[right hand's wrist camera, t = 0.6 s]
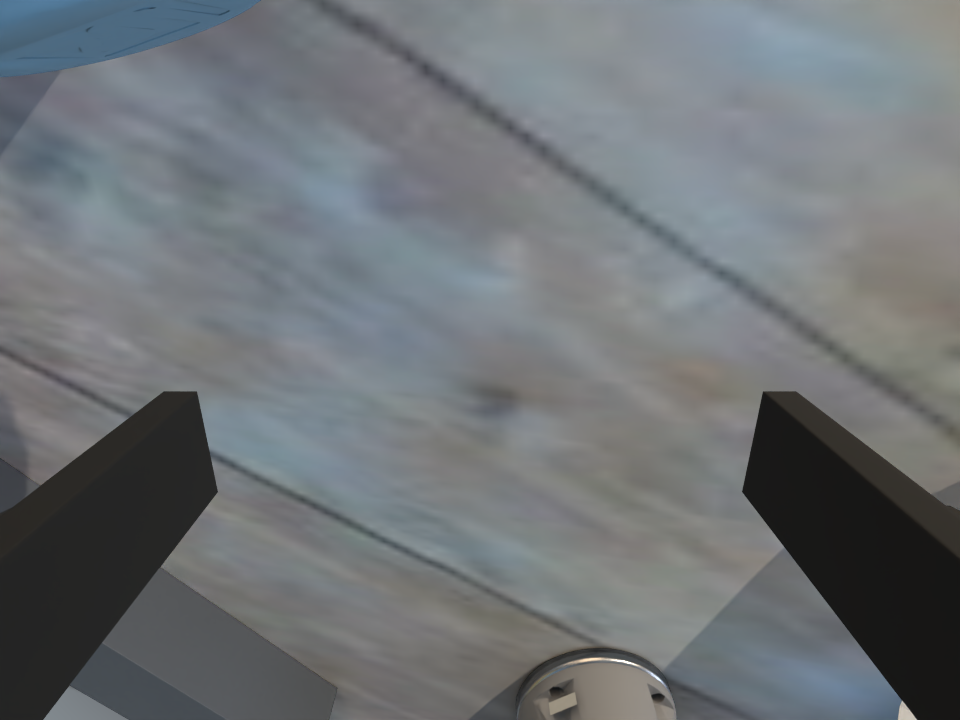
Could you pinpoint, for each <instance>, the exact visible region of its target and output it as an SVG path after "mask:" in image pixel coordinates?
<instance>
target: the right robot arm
mask: <svg viewBox="0 0 960 720" xmlns="http://www.w3.org/2000/svg"><path fill="white" fill-rule="evenodd" d="M217 492H218V491H217V486H216V481H215V476H214V471H213V467H212V462H211V457H210V452H209V447H208V443H207V438H206V433H205V428H204V423H203V419H202V414H201V409H200V404H199V399H198V395H197V392H163V393H161V394H160V395H159V396H157V397H156V398H155V399H153V400H152V401H151V402H150V403H148V404H147V405H146V406H144V407H143V408H142V409H140V410H139V411H138V412H136V413H135V414H134V415H133V416H131V417H130V418H129V419H127V420H126V421H125V422H123V423H122V424H121V425H119V426H118V427H117V428H115V429H114V430H113V431H112V432H110V433H109V434H108V435H106V436H105V437H104V438H102V439H101V440H100V441H98V442H97V443H96V444H95V445H93V446H92V447H91V448H89V449H88V450H87V451H85V452H84V453H83V454H81V455H80V456H79V457H78V458H76V459H75V460H74V461H72V462H71V463H70V464H68V465H67V466H66V467H64V468H63V469H62V470H60V471H59V472H58V473H57V474H55V475H54V476H53V477H51V478H50V479H49V480H47V481H46V482H45V483H43V484H42V485H41V486H40V487H38V488H37V489H36V490H34V491H33V492H32V493H30V494H29V495H28V496H26V497H25V498H24V499H23V500H21V501H20V502H19V503H17V504H16V505H15V506H13V507H12V508H9V509H7V510H6V511H4V512H2V513H0V720H43V719H44V718H45V717H46V715H47V714H48V713H49V711H50V710H51V709H52V707H53V706H54V705H55V703H56V702H57V701H58V700H59V698H60V697H61V696H62V694H63V693H64V692H65V690H66V689H67V688H68V687H69V685H70V684H71V683H72V681H73V680H74V679H75V677H76V676H77V675H78V673H79V672H80V671H81V670H82V668H83V667H84V666H85V664H86V663H87V662H88V660H89V659H90V658H91V657H92V655H93V654H94V653H95V651H96V650H97V649H98V647H99V646H100V645H101V644H102V642H103V641H104V640H105V638H106V637H107V636H108V634H109V633H110V632H111V630H112V629H113V628H114V627H115V625H116V624H117V623H118V621H119V620H120V619H121V617H122V616H123V615H124V614H125V612H126V611H127V610H128V608H129V607H130V606H131V604H132V603H133V602H134V600H135V599H136V598H137V597H138V595H139V594H140V593H141V591H142V590H143V589H144V587H145V586H146V585H147V584H148V582H149V581H150V580H151V578H152V577H153V576H154V574H155V573H156V572H157V571H158V569H159V568H160V567H161V565H162V564H163V563H164V561H165V560H166V559H167V557H168V556H169V555H170V554H171V552H172V551H173V550H174V548H175V547H176V546H177V544H178V543H179V542H180V541H181V539H182V538H183V537H184V535H185V534H186V533H187V531H188V530H189V529H190V527H191V526H192V525H193V524H194V522H195V521H196V520H197V518H198V517H199V516H200V514H201V513H202V512H203V511H204V509H205V508H206V507H207V505H208V504H209V503H210V501H211V500H212V499H213V497H214V496H215V495H216V494H217ZM742 492H743V494H744V495H745V496H746V497H747V499H748V500H749V501H750V503H751V504H752V505H753V507H754V508H755V509H756V511H757V512H758V513H759V514H760V516H761V517H762V518H763V520H764V521H765V522H766V524H767V525H768V526H769V527H770V529H771V530H772V531H773V533H774V534H775V535H776V537H777V538H778V539H779V541H780V542H781V543H782V544H783V546H784V547H785V548H786V550H787V551H788V552H789V554H790V555H791V556H792V557H793V559H794V560H795V561H796V563H797V564H798V565H799V567H800V568H801V569H802V571H803V572H804V573H805V574H806V576H807V577H808V578H809V580H810V581H811V582H812V584H813V585H814V586H815V587H816V589H817V590H818V591H819V593H820V594H821V595H822V597H823V598H824V599H825V600H826V602H827V603H828V604H829V606H830V607H831V608H832V610H833V611H834V612H835V614H836V615H837V616H838V617H839V619H840V620H841V621H842V623H843V624H844V625H845V627H846V628H847V629H848V630H849V632H850V633H851V634H852V636H853V637H854V638H855V640H856V641H857V642H858V644H859V645H860V646H861V647H862V649H863V650H864V651H865V653H866V654H867V655H868V657H869V658H870V659H871V660H872V662H873V663H874V664H875V666H876V667H877V668H878V670H879V671H880V672H881V674H882V675H883V676H884V677H885V679H886V680H887V681H888V683H889V684H890V685H891V687H892V688H893V689H894V690H895V692H896V693H897V694H898V696H899V697H900V698H901V700H902V701H903V702H904V703H905V705H906V706H907V707H908V709H909V710H910V711H911V713H912V714H913V715H914V717H915V718H916V719H917V720H960V511H959V510H957V509H955V508H953V507H951V506H945V505H944V504H943V503H941V502H940V501H939V500H937V499H936V498H935V497H934V496H932V495H931V494H930V493H928V492H927V491H926V490H924V489H923V488H922V487H920V486H919V485H918V484H917V483H915V482H914V481H913V480H911V479H910V478H909V477H907V476H906V475H905V474H903V473H902V472H901V471H899V470H898V469H897V468H896V467H894V466H893V465H892V464H890V463H889V462H888V461H886V460H885V459H884V458H882V457H881V456H880V455H879V454H877V453H876V452H875V451H873V450H872V449H871V448H869V447H868V446H867V445H865V444H864V443H863V442H862V441H860V440H859V439H858V438H856V437H855V436H854V435H852V434H851V433H850V432H848V431H847V430H846V429H845V428H843V427H842V426H841V425H839V424H838V423H837V422H835V421H834V420H833V419H831V418H830V417H829V416H827V415H826V414H825V413H824V412H822V411H821V410H820V409H818V408H817V407H816V406H814V405H813V404H812V403H810V402H809V401H808V400H807V399H805V398H804V397H803V396H801V395H800V394H799V393H797V392H763V395H762V399H761V404H760V409H759V414H758V419H757V423H756V428H755V433H754V438H753V443H752V447H751V452H750V457H749V462H748V467H747V471H746V476H745V481H744V486H743V491H742ZM516 714H517V720H677V717H676V708H675V703H674V700H673V697H672V694H671V691H670V688H669V685H668V683H667V681H666V679H665V677H664V676H663V674H662V673H661V672H660V671H659V670H658V669H657V668H656V667H655V666H654V665H653V664H651V663H650V662H649V661H647V660H645V659H644V658H642V657H639V656H637V655H635V654H632V653H629V652H625V651H621V650H616V649H607V648H592V649H582V650H577V651H573V652H569V653H565V654H563V655H560V656H557V657H555V658H553V659H551V660H549V661H547V662H545V663H544V664H542V665H541V666H539V667H538V668H537V669H535V670H534V671H533V672H532V673H531V674H530V675H529V676H528V677H527V678H526V680H525V681H524V683H523V684H522V686H521V688H520V690H519V692H518V695H517V699H516Z"/></svg>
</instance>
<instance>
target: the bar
mask: <svg viewBox="0 0 960 720" xmlns="http://www.w3.org/2000/svg"><path fill="white" fill-rule="evenodd" d="M38 487H40V485H38V484H37V483H35V482H34V481H32V480H31V479H29V478H28V477H26V476H25V475H24V474H22V473H21V472H19V471H18V470H16V469H15V468H13V467H12V466H10V465H9V464H7V463H6V462H4V461H3V460H2V459H0V513H2V512H4V511H6V510H7V509H9V508H12V507H13V506H15V505H16V504H17V503H19V502H20V501H21V500H23V499H24V498H25V497H26V496H28V495H29V494H30V493H32V492H33V491H34V490H36V489H37V488H38ZM70 686H72V687H73V688H75V689H77V690H79V691H80V692H82V693H84V694H85V695H87V696H89V697H91V698H92V699H94V700H96V701H97V702H99V703H101V704H103V705H104V706H106V707H108V708H110V709H111V710H113V711H115V712H117V713H118V714H120V715H122V716H123V717H125V718H127V719H129V720H329V718H330V714H331V711H332V707H333V703H334V699H335V695H336V691H337V688H336V687H335V686H333V685H332V684H330V683H329V682H327V681H326V680H324V679H323V678H321V677H320V676H318V675H317V674H315V673H314V672H313V671H311V670H310V669H308V668H307V667H305V666H304V665H302V664H301V663H299V662H298V661H296V660H295V659H293V658H292V657H291V656H289V655H288V654H286V653H285V652H283V651H282V650H280V649H279V648H277V647H276V646H274V645H273V644H271V643H270V642H269V641H267V640H266V639H264V638H263V637H261V636H260V635H258V634H257V633H255V632H254V631H252V630H251V629H249V628H248V627H247V626H245V625H244V624H242V623H241V622H239V621H238V620H236V619H235V618H233V617H232V616H230V615H229V614H227V613H226V612H225V611H223V610H222V609H220V608H219V607H217V606H216V605H214V604H213V603H211V602H210V601H208V600H207V599H205V598H204V597H203V596H201V595H200V594H198V593H197V592H195V591H194V590H192V589H191V588H189V587H188V586H186V585H185V584H183V583H182V582H181V581H179V580H178V579H176V578H175V577H173V576H172V575H170V574H169V573H167V572H166V571H164V570H163V569H161V568H159V569H158V571H157V572H156V573H155V574H154V576H153V577H152V578H151V580H150V581H149V582H148V584H147V585H146V586H145V587H144V589H143V590H142V591H141V593H140V594H139V595H138V597H137V598H136V599H135V600H134V602H133V603H132V604H131V606H130V607H129V608H128V610H127V611H126V612H125V614H124V615H123V616H122V617H121V619H120V620H119V621H118V623H117V624H116V625H115V627H114V628H113V629H112V630H111V632H110V633H109V634H108V636H107V637H106V638H105V640H104V641H103V642H102V644H101V645H100V646H99V647H98V649H97V650H96V651H95V653H94V654H93V655H92V657H91V658H90V659H89V660H88V662H87V663H86V664H85V666H84V667H83V668H82V670H81V671H80V672H79V673H78V675H77V676H76V677H75V679H74V680H73V681H72V683H71V684H70Z"/></svg>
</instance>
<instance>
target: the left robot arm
mask: <svg viewBox="0 0 960 720" xmlns="http://www.w3.org/2000/svg"><path fill="white" fill-rule="evenodd" d="M259 1H261V0H0V77H10V76H21V75H29V74H37V73H44V72H51V71H57V70H62V69H68V68H73V67H78V66H83V65H88V64H92V63H97V62H102V61H106V60H110V59H114V58H118V57H122V56H126V55H130V54H134V53H137V52H141V51H144V50H148V49H151V48H154V47H157V46H161V45H164V44H167V43H170V42H173V41H176V40H179V39H182V38H185V37H188V36H191V35H194V34H196V33H199V32H201V31H204V30H207V29H209V28H211V27H214V26H216V25H219V24H221V23H223V22H225V21H227V20H229V19H231V18H233V17H235V16H237V15H239V14H241V13H243V12H244V11H246V10H248V9H249V8H251V7H252V6H253V5H255V4H256V3H257V2H259Z"/></svg>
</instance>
